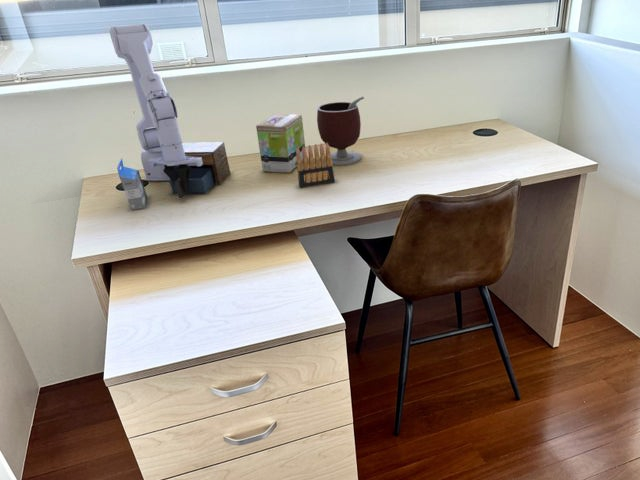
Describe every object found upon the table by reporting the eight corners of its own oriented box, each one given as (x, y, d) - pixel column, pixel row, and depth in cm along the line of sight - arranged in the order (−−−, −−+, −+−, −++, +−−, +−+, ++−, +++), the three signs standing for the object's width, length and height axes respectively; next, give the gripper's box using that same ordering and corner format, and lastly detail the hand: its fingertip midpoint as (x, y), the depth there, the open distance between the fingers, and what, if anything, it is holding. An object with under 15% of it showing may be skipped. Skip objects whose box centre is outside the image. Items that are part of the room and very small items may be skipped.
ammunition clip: (333, 180, 170) (329, 141, 163) (335, 182, 168) (331, 142, 162) (298, 186, 167) (293, 146, 160) (300, 188, 165) (294, 148, 159)
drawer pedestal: (218, 187, 168) (210, 153, 163) (173, 187, 169) (164, 154, 164) (230, 173, 178) (223, 141, 173) (188, 174, 179) (180, 142, 174)
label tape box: (145, 208, 156) (132, 165, 150) (129, 210, 155) (116, 167, 149) (147, 197, 163) (135, 156, 157) (133, 199, 162) (120, 157, 156)
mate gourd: (318, 166, 181) (310, 102, 170) (325, 152, 193) (318, 92, 182) (365, 165, 180) (361, 101, 169) (369, 152, 192) (365, 91, 181)
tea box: (291, 173, 176) (284, 126, 169) (262, 172, 178) (254, 125, 170) (307, 157, 189) (302, 113, 181) (279, 157, 191) (273, 112, 183)
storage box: (164, 201, 160) (158, 182, 156) (185, 181, 173) (181, 163, 170) (198, 201, 159) (193, 181, 156) (217, 181, 172) (212, 162, 169)
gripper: (139, 148, 150) (152, 195, 158) (191, 147, 149) (202, 195, 157) (150, 140, 156) (163, 186, 164) (200, 139, 155) (211, 185, 163)
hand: (183, 190), depth 160 cm, fingers closed on storage box
